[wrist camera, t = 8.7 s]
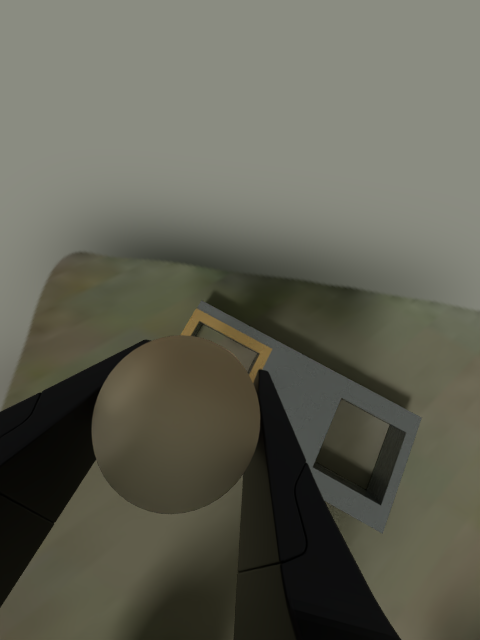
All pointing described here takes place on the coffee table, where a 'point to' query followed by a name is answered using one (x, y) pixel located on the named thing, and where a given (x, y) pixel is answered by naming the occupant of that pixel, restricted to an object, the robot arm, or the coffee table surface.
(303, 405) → the board with square holes
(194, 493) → the peg
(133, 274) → the coffee table surface
